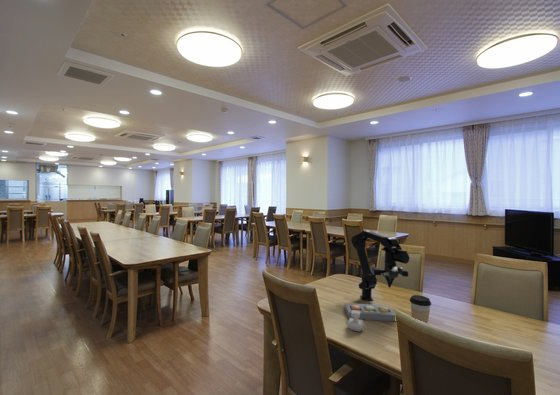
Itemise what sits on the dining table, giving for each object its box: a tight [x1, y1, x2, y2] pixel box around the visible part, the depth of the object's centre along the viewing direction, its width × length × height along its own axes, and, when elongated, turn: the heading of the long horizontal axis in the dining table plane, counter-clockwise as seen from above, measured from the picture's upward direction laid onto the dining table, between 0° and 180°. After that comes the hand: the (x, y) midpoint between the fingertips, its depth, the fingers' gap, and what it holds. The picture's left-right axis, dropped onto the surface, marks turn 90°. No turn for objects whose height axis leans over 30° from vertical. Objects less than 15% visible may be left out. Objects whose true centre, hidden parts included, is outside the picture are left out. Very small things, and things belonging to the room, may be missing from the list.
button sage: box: [365, 306, 374, 311], centre depth 150 cm, size 4×4×3 cm
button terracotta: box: [351, 305, 360, 310], centre depth 151 cm, size 4×4×3 cm
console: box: [344, 302, 396, 322], centre depth 150 cm, size 13×24×3 cm, turn 86°
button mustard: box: [380, 306, 389, 312], centre depth 150 cm, size 4×4×3 cm
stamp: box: [345, 310, 366, 332], centre depth 133 cm, size 9×7×8 cm
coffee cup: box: [408, 294, 432, 324], centre depth 135 cm, size 9×9×15 cm
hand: (389, 287), depth 159 cm, fingers closed
